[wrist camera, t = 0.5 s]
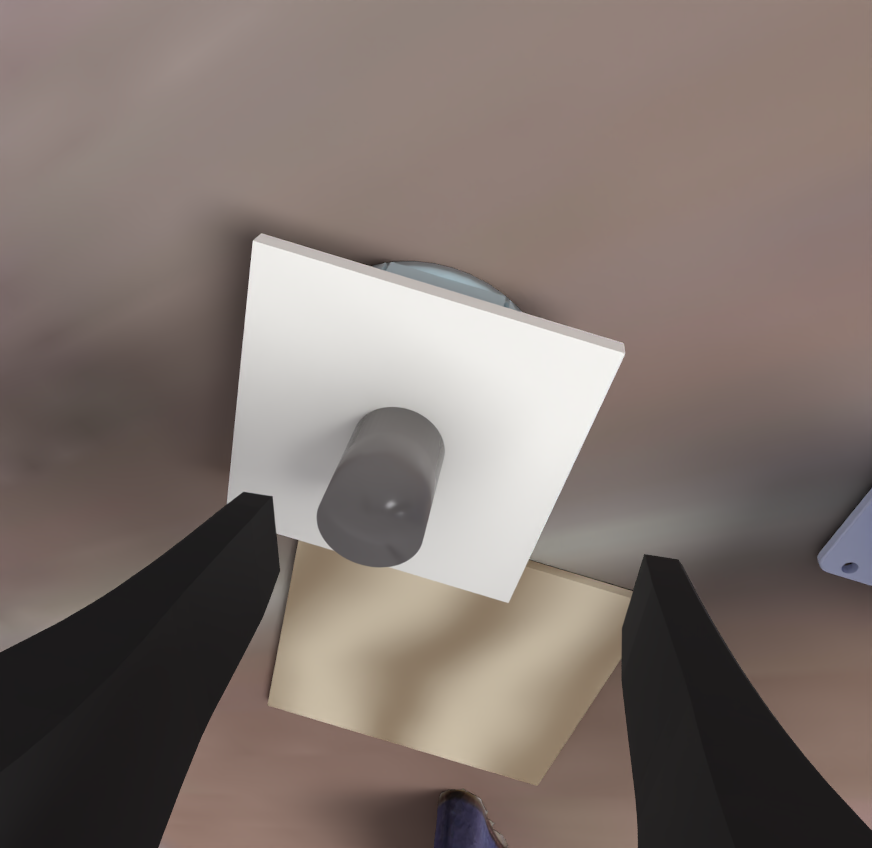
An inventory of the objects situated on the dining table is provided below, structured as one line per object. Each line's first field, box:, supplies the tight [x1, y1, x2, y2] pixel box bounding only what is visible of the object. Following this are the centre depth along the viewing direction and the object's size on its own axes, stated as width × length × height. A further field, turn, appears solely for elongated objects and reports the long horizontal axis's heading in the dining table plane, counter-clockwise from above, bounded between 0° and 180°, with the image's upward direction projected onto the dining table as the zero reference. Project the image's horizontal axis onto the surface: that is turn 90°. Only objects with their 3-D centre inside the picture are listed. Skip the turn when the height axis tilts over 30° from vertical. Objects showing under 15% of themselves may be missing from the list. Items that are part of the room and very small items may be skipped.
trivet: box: [268, 540, 633, 786], centre depth 31 cm, size 14×14×1 cm
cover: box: [227, 233, 625, 603], centre depth 19 cm, size 10×10×4 cm
